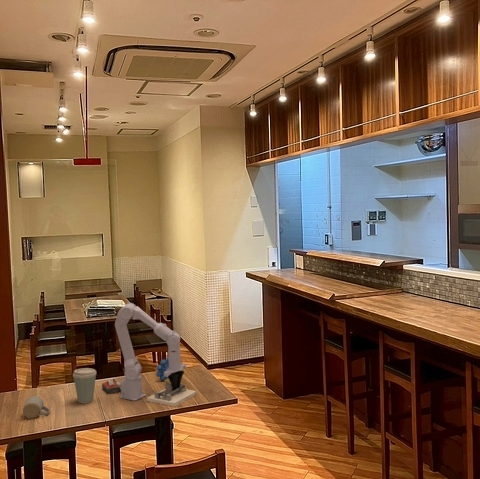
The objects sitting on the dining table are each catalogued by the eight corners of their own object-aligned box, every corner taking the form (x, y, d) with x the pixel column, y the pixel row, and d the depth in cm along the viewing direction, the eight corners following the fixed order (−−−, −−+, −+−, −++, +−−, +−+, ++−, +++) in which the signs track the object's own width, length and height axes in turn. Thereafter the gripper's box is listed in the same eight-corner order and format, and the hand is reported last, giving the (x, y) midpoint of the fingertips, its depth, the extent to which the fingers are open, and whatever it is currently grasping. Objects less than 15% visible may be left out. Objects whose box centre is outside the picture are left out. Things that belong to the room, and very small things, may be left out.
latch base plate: (147, 401, 237) (146, 391, 236) (170, 389, 251) (169, 380, 251) (174, 406, 228) (174, 397, 228) (196, 394, 243) (196, 385, 243)
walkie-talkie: (125, 392, 250) (115, 381, 268) (125, 383, 250) (115, 373, 267) (107, 396, 246) (98, 384, 264) (107, 387, 246) (98, 376, 263)
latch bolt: (164, 382, 247) (164, 380, 247) (168, 380, 250) (168, 378, 250) (171, 383, 245) (170, 381, 245) (174, 381, 248) (174, 379, 248)
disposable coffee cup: (88, 395, 246) (86, 365, 246) (103, 399, 240) (101, 368, 239) (69, 402, 238) (67, 371, 237) (84, 407, 232) (82, 374, 231)
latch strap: (165, 397, 232) (165, 394, 232) (158, 396, 234) (158, 393, 234) (185, 387, 245) (184, 384, 245) (178, 386, 247) (178, 383, 247)
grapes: (175, 376, 272) (174, 353, 271) (179, 379, 266) (178, 356, 265) (154, 379, 267) (153, 356, 267) (157, 383, 261) (156, 360, 261)
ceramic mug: (22, 420, 219) (21, 402, 218) (25, 413, 227) (24, 396, 226) (48, 417, 221) (48, 400, 221) (50, 410, 229) (50, 393, 229)
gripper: (171, 364, 233) (173, 393, 234) (190, 355, 246) (191, 383, 246) (159, 362, 237) (161, 391, 237) (178, 354, 249) (180, 381, 250)
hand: (176, 387), depth 242 cm, fingers closed on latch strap, 2 cm apart
